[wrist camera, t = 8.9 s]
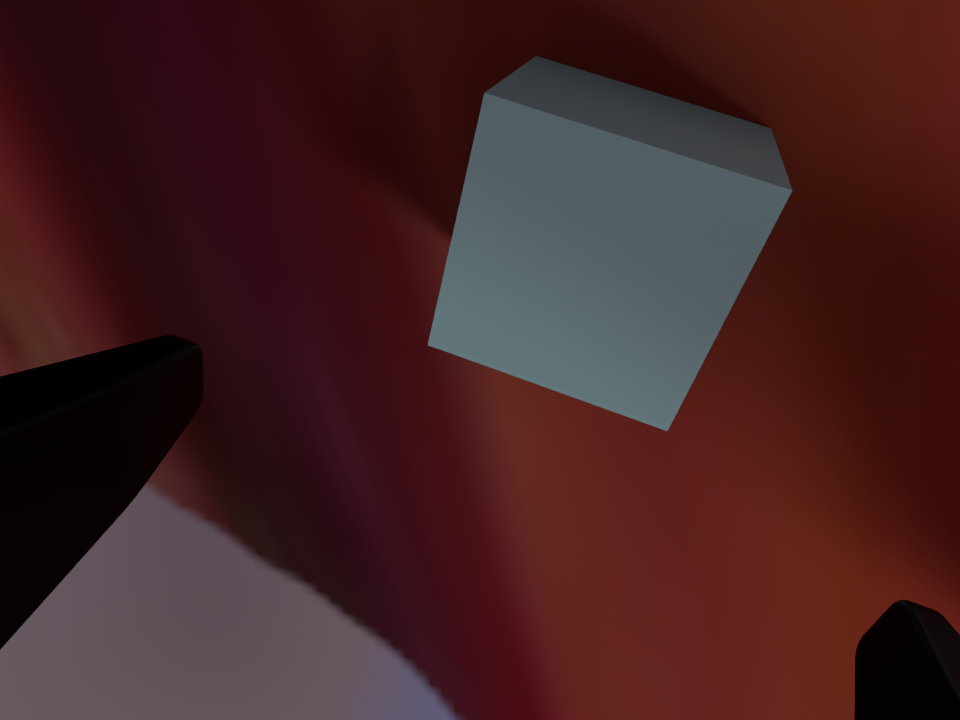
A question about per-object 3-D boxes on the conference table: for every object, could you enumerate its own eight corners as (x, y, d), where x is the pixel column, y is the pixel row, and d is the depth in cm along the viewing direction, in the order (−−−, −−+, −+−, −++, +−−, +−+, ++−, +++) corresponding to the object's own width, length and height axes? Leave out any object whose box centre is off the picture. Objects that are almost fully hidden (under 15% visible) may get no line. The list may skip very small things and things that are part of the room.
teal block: (770, 127, 16) (792, 190, 12) (675, 329, 20) (667, 431, 16) (537, 55, 17) (484, 93, 13) (482, 263, 21) (427, 345, 16)
